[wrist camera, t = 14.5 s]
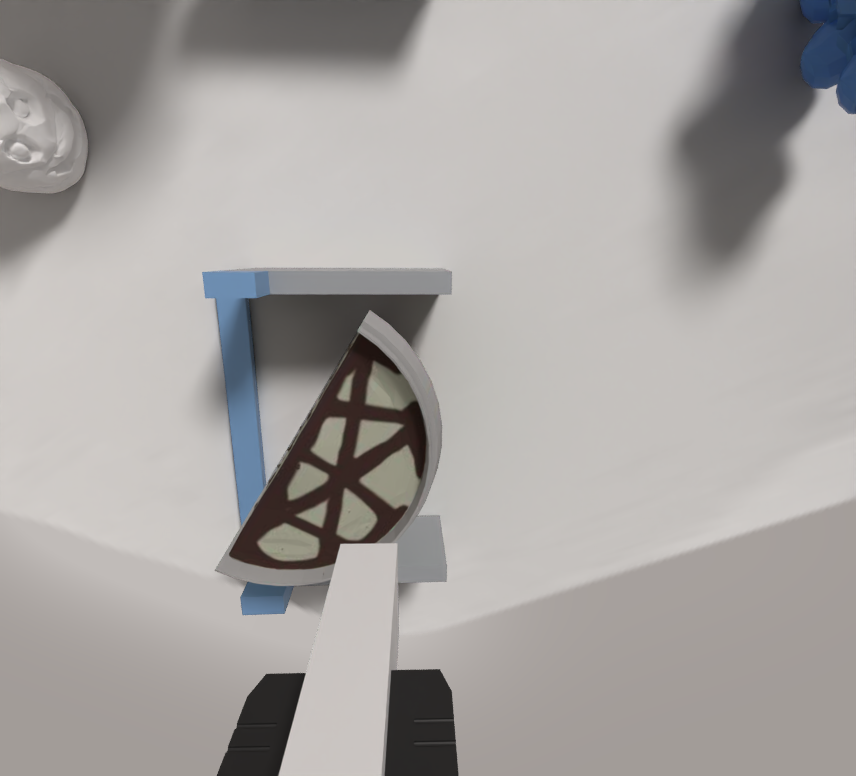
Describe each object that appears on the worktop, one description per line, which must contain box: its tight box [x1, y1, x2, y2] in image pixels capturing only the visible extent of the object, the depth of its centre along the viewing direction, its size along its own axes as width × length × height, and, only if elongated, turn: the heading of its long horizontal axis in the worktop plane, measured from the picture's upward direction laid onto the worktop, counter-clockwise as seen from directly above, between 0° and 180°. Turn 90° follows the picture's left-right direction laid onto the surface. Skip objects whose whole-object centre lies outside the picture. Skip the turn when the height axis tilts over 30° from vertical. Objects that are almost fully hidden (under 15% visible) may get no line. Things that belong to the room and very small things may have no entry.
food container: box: [215, 310, 442, 586], centre depth 23 cm, size 12×6×10 cm, turn 148°
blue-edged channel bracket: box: [202, 268, 452, 615], centre depth 22 cm, size 12×31×7 cm, turn 0°
